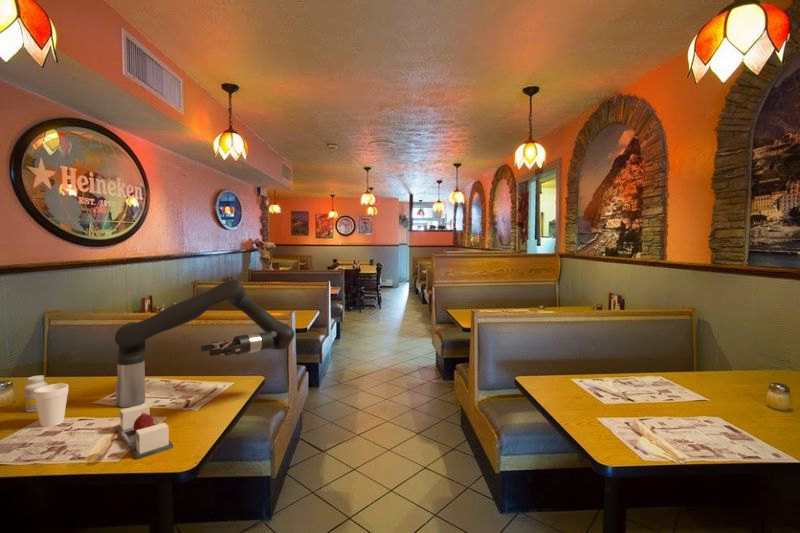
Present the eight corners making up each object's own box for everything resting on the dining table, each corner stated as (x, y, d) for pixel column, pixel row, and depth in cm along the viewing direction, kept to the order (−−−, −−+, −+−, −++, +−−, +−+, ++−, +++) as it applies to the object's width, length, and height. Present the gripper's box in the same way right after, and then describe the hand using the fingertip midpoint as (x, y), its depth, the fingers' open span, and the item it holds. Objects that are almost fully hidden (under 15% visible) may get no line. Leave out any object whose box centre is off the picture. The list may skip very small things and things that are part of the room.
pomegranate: (158, 432, 134) (158, 409, 134) (142, 440, 129) (142, 416, 128) (145, 429, 136) (145, 407, 136) (129, 437, 130) (129, 413, 130)
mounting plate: (115, 429, 138) (115, 423, 138) (149, 420, 146) (149, 415, 146) (135, 459, 119) (135, 453, 119) (174, 447, 126) (174, 441, 126)
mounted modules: (119, 426, 138) (119, 410, 138) (146, 419, 144) (146, 403, 144) (138, 454, 120) (138, 435, 120) (168, 444, 126) (168, 426, 126)
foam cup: (30, 430, 136) (29, 394, 135) (39, 420, 144) (39, 385, 144) (65, 425, 140) (64, 390, 140) (72, 415, 148) (71, 382, 148)
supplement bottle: (44, 404, 158) (43, 373, 158) (51, 408, 155) (50, 376, 154) (22, 410, 153) (21, 377, 152) (28, 414, 149) (27, 381, 149)
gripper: (239, 331, 163) (198, 337, 151) (255, 337, 153) (212, 344, 141) (239, 349, 163) (198, 356, 152) (255, 356, 154) (213, 364, 142)
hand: (205, 350), depth 147 cm, fingers open, 8 cm apart
